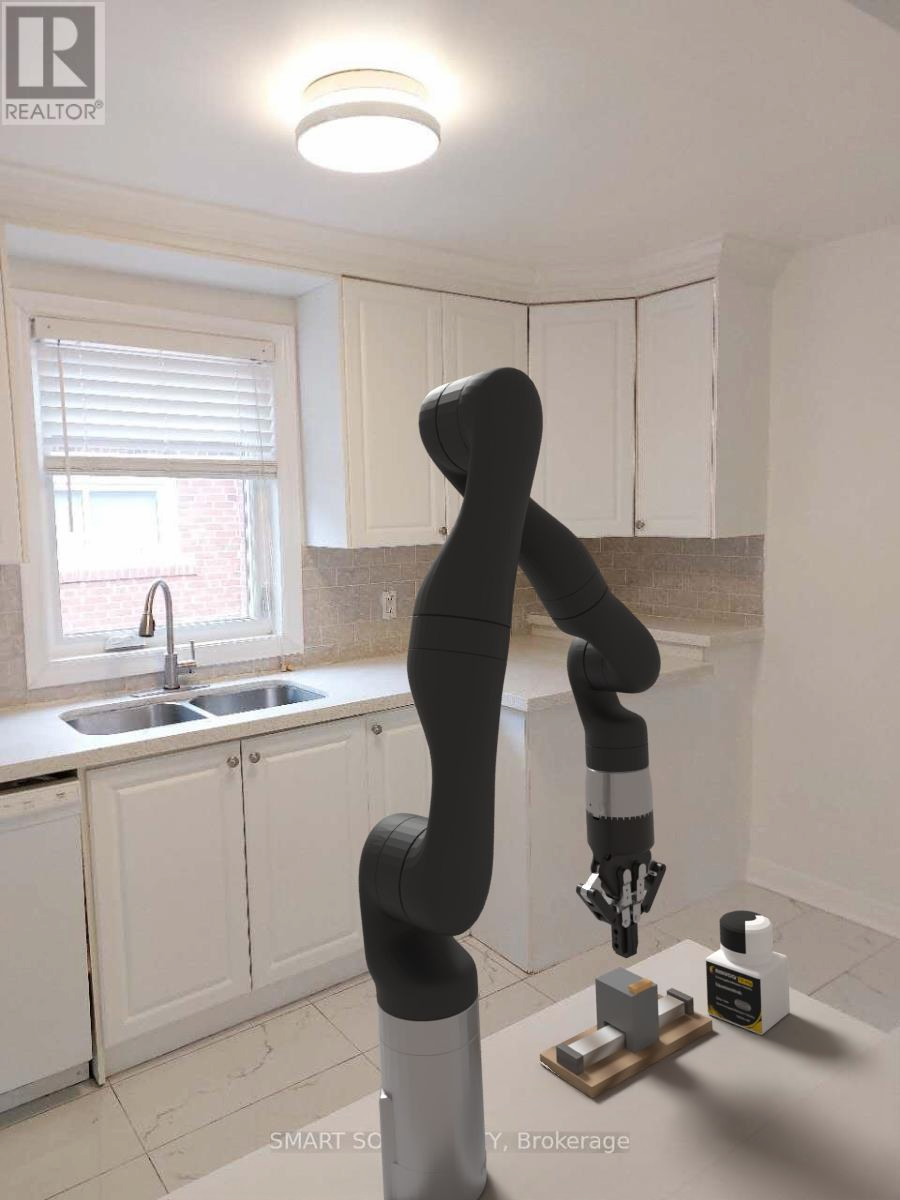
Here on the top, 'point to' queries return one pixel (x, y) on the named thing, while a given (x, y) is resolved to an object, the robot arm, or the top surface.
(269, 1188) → the top surface
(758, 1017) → the medicine bottle
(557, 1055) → the rail board
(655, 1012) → the block
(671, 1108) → the top surface
